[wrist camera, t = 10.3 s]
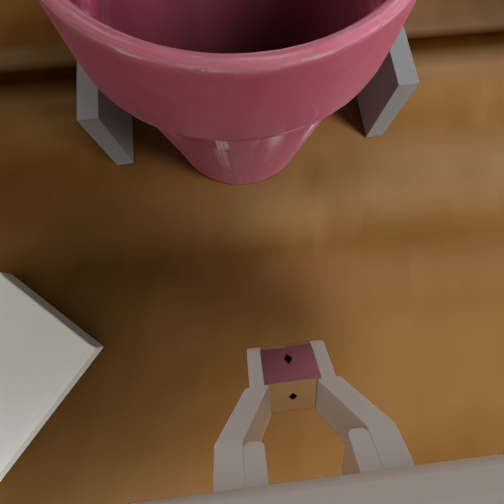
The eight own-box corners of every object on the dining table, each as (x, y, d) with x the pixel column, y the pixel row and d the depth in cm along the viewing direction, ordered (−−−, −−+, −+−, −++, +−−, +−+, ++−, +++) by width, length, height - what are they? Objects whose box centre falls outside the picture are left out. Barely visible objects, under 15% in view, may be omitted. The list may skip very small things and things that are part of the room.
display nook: (346, -14, 25) (369, -96, 20) (382, 135, 22) (419, 82, 17) (112, 9, 24) (77, -68, 19) (117, 165, 21) (76, 120, 16)
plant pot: (350, 65, 23) (465, -234, 10) (322, 237, 20) (436, 108, 8) (172, 36, 24) (81, -278, 11) (121, 197, 21) (-80, 19, 8)
